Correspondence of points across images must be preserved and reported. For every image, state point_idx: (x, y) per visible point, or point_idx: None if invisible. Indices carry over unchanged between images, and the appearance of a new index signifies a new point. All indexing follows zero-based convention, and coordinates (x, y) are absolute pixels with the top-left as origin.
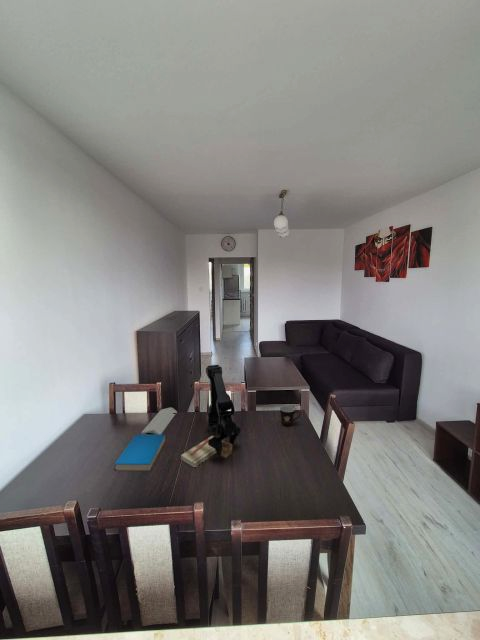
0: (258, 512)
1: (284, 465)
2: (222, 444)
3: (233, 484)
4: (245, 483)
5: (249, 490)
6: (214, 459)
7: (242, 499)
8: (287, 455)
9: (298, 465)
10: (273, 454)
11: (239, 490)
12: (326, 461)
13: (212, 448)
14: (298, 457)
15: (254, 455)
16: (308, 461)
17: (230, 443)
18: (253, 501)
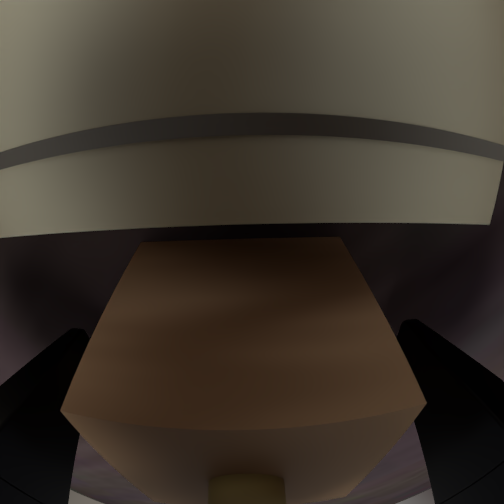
0: (101, 500)
1: (350, 498)
2: (199, 465)
3: (77, 464)
4: (131, 486)
5: (124, 493)
6: (34, 284)
7: (79, 483)
8: (421, 474)
9: (370, 500)
10: (415, 464)
11: (87, 477)
12: (414, 495)
13: (16, 159)
14: (417, 483)
15: None
16: (402, 494)
17: (353, 488)
18: (109, 497)
